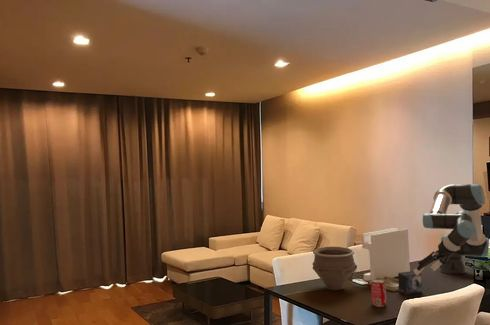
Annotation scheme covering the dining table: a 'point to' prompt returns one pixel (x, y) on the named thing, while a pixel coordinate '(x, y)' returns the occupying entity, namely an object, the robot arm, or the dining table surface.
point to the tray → (389, 283)
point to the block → (387, 252)
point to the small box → (410, 283)
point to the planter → (334, 266)
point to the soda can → (378, 293)
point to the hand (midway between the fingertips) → (424, 270)
